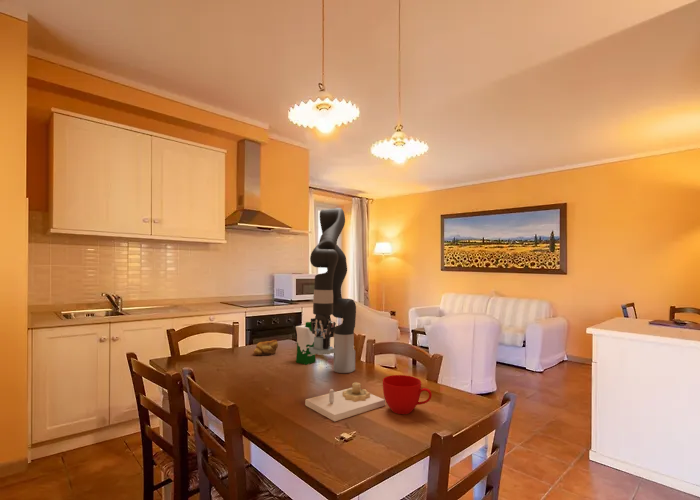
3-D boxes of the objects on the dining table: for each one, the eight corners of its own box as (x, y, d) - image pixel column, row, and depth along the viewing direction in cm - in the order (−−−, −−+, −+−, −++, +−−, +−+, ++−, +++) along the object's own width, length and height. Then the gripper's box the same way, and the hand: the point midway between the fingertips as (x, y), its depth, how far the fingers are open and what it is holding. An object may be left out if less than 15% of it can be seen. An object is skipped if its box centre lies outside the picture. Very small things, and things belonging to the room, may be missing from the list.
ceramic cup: (424, 424, 115) (424, 391, 116) (375, 412, 124) (375, 382, 125) (437, 411, 126) (438, 381, 127) (392, 400, 135) (392, 372, 136)
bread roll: (255, 357, 195) (256, 342, 196) (250, 353, 204) (250, 338, 204) (279, 354, 202) (279, 339, 202) (273, 351, 210) (273, 336, 211)
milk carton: (306, 365, 181) (307, 324, 181) (292, 362, 186) (293, 322, 187) (318, 361, 188) (318, 322, 189) (304, 359, 193) (305, 320, 194)
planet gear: (325, 348, 147) (325, 334, 148) (340, 353, 139) (340, 338, 140) (303, 351, 141) (304, 336, 141) (318, 356, 133) (318, 340, 134)
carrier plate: (353, 392, 144) (354, 374, 144) (384, 405, 130) (385, 385, 131) (305, 405, 130) (305, 385, 130) (334, 421, 117) (334, 399, 117)
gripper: (342, 302, 138) (341, 349, 137) (321, 300, 149) (319, 343, 148) (325, 303, 133) (324, 352, 132) (304, 300, 145) (303, 345, 144)
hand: (322, 347), depth 140 cm, fingers closed on planet gear, 4 cm apart
